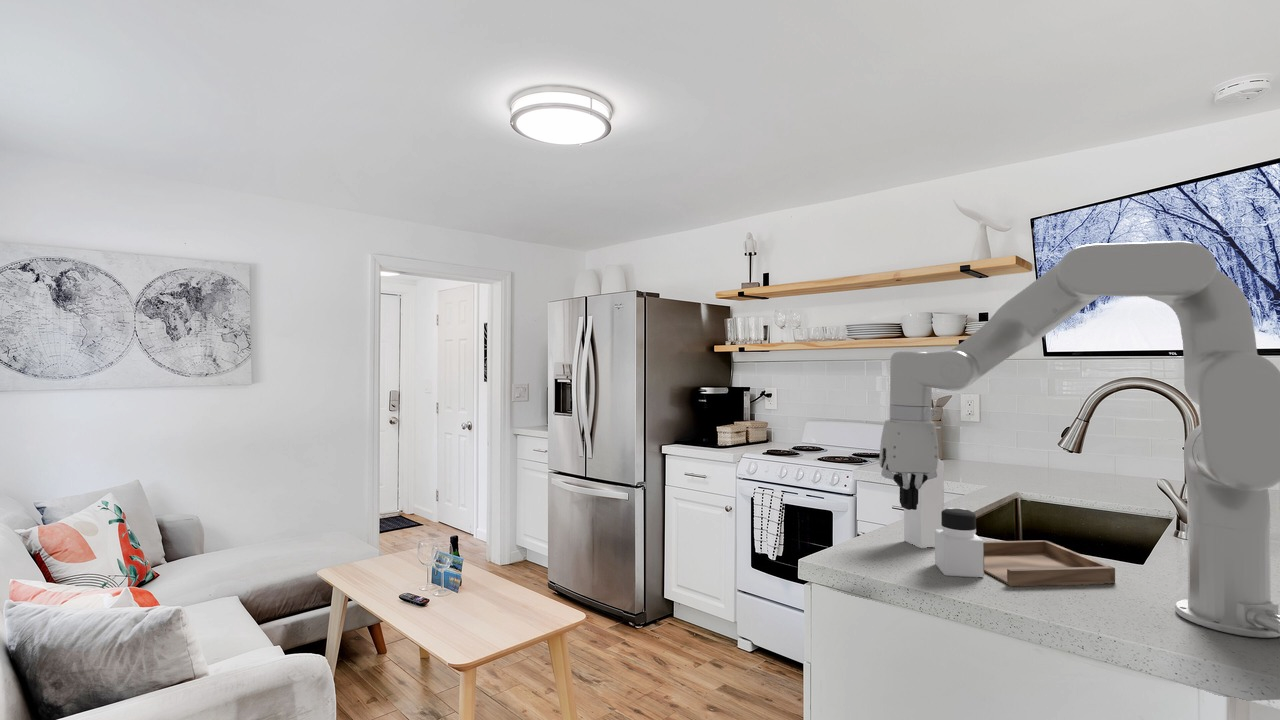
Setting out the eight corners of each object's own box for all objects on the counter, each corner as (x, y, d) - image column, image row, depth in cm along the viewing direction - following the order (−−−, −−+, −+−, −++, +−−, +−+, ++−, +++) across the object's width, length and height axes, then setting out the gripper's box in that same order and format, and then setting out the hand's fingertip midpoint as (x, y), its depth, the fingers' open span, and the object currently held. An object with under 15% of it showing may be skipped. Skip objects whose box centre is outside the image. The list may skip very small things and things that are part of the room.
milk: (926, 539, 144) (926, 444, 144) (944, 547, 138) (944, 447, 138) (903, 541, 143) (903, 444, 143) (920, 548, 137) (920, 448, 137)
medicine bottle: (984, 578, 118) (984, 515, 118) (944, 576, 120) (943, 513, 120) (972, 566, 125) (972, 506, 125) (934, 564, 127) (934, 505, 127)
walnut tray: (1115, 583, 115) (1115, 568, 115) (1010, 586, 114) (1010, 570, 114) (1045, 553, 133) (1045, 540, 133) (954, 556, 132) (954, 542, 132)
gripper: (936, 412, 126) (935, 503, 126) (864, 412, 125) (863, 503, 125) (958, 416, 119) (956, 512, 119) (881, 416, 118) (880, 513, 118)
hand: (908, 508), depth 122 cm, fingers closed
